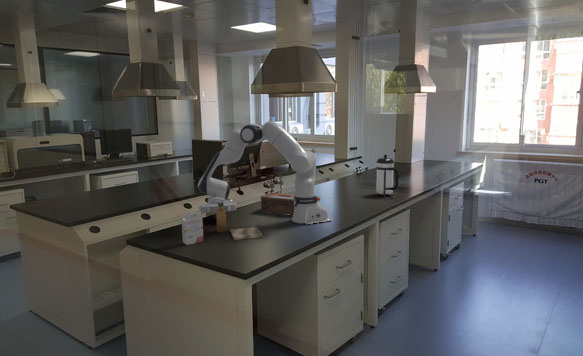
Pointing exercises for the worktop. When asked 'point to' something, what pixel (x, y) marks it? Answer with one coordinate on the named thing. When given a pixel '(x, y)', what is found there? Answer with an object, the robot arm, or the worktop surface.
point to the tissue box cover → (278, 203)
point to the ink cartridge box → (192, 228)
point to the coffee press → (385, 176)
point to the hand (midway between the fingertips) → (219, 210)
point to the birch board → (246, 233)
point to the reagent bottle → (221, 218)
